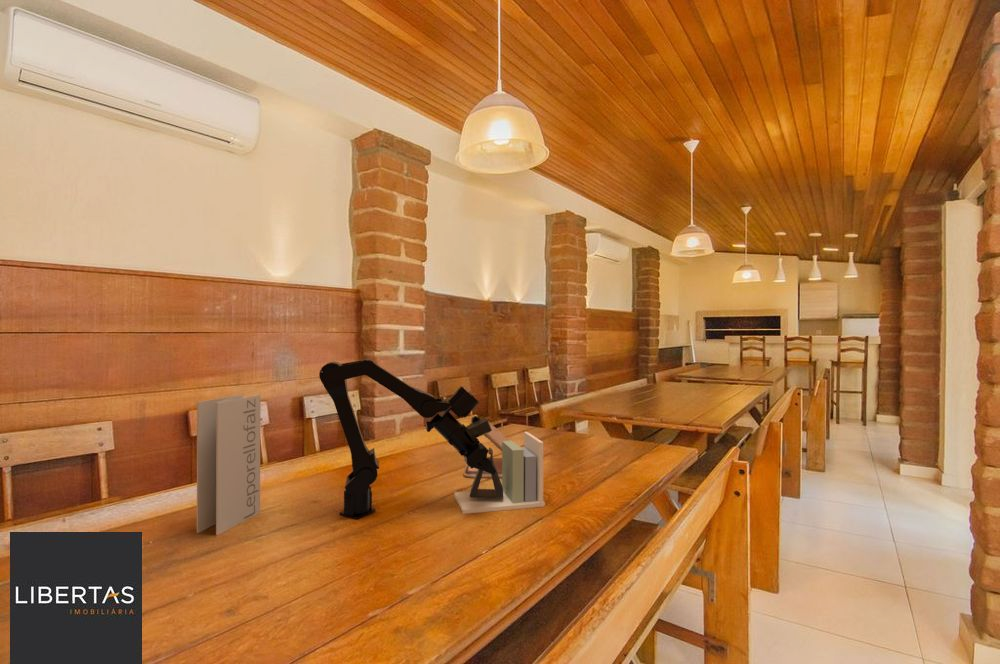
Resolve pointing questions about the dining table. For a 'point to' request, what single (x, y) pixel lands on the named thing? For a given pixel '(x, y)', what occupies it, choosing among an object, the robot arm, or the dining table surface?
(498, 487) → the phone stand
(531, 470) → the bookshelf
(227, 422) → the brochure
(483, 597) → the dining table surface
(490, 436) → the case
